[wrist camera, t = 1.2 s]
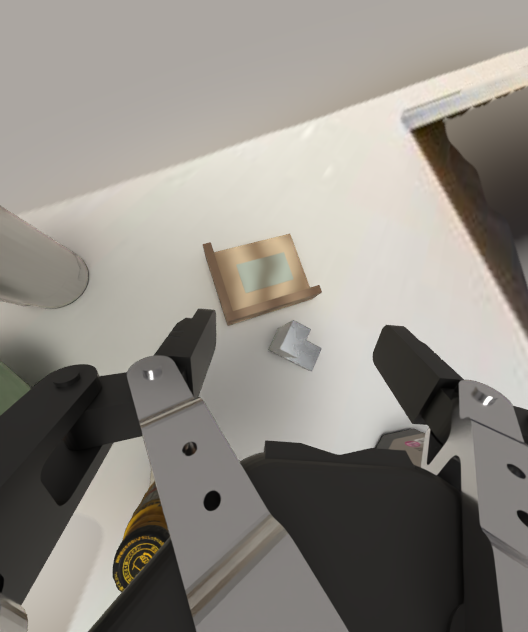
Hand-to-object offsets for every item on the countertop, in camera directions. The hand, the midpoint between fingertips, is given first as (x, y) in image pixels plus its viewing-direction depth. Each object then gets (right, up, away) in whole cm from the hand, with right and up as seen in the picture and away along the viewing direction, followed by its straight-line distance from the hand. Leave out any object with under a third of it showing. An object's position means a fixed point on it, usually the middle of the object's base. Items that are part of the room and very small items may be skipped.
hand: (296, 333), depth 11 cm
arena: (-2, +7, +27) cm, 28 cm away
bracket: (+3, -5, +26) cm, 26 cm away
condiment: (-14, -22, +21) cm, 33 cm away
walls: (-2, +7, +27) cm, 28 cm away
